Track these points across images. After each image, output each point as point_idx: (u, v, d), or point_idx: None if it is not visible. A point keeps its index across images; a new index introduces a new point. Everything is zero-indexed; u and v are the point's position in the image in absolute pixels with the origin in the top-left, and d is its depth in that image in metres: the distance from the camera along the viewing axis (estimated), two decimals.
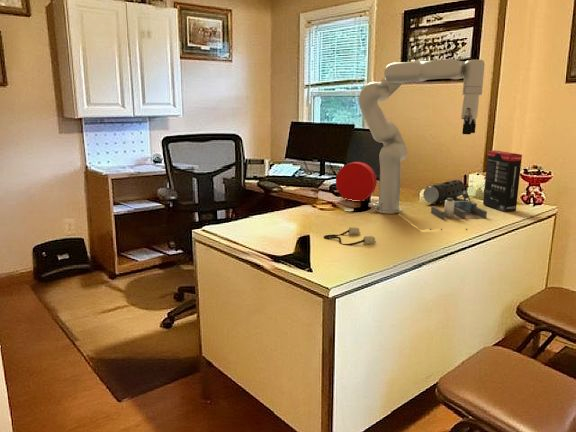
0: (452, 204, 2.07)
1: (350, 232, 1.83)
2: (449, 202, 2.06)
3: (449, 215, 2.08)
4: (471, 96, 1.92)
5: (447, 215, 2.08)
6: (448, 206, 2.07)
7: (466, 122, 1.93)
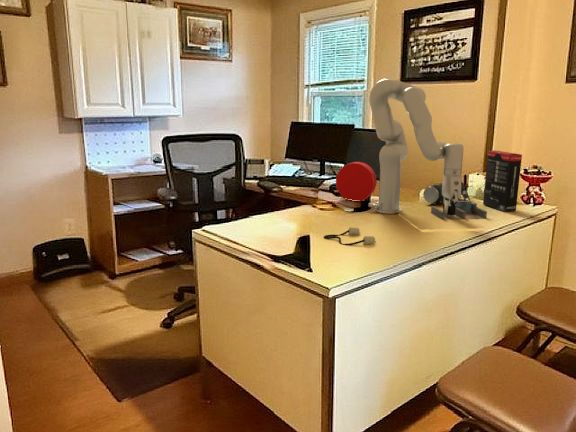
0: None
1: (350, 232, 1.83)
2: None
3: (449, 215, 2.08)
4: None
5: (447, 215, 2.08)
6: None
7: None
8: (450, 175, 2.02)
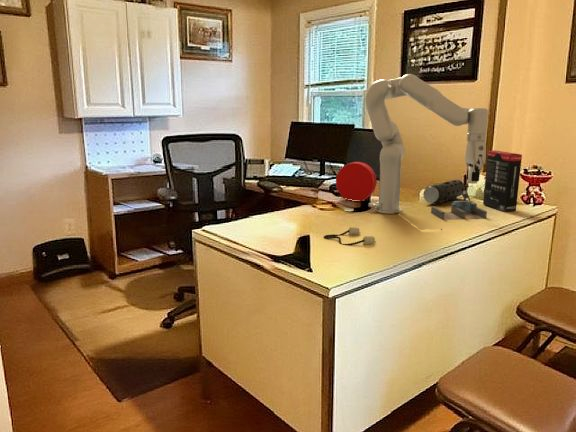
0: None
1: (350, 232, 1.83)
2: None
3: (473, 181, 2.05)
4: None
5: (471, 181, 2.05)
6: None
7: None
8: (474, 140, 2.00)
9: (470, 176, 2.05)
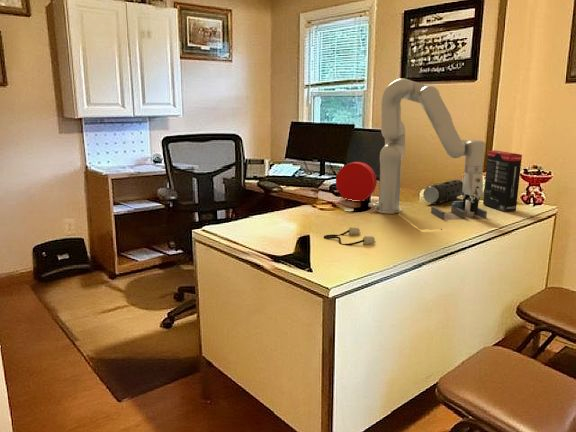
0: None
1: (350, 232, 1.83)
2: (470, 202, 2.07)
3: (470, 215, 2.08)
4: None
5: (468, 215, 2.09)
6: (469, 206, 2.08)
7: None
8: (472, 172, 2.03)
9: (467, 209, 2.09)
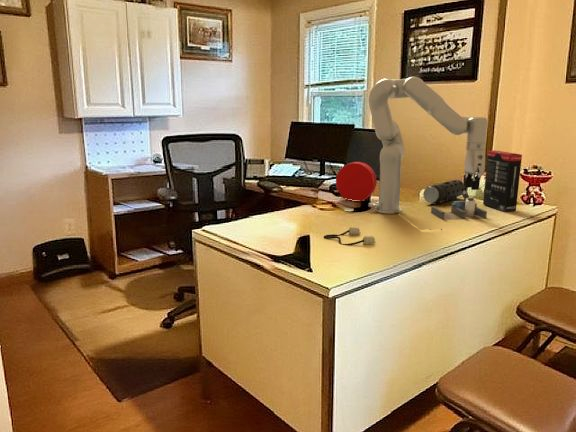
0: (473, 204, 2.07)
1: (350, 232, 1.83)
2: (470, 202, 2.07)
3: (470, 215, 2.08)
4: None
5: (468, 215, 2.09)
6: (469, 206, 2.08)
7: None
8: (474, 149, 2.00)
9: (467, 209, 2.09)
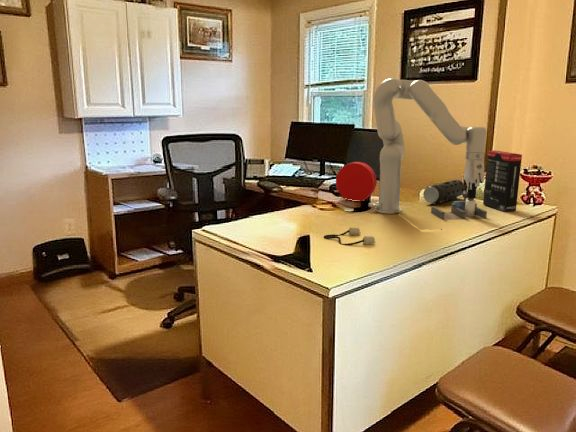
0: (473, 204, 2.07)
1: (350, 232, 1.83)
2: (470, 202, 2.07)
3: (470, 215, 2.08)
4: None
5: (468, 215, 2.09)
6: (469, 206, 2.08)
7: None
8: (473, 159, 2.01)
9: (467, 209, 2.09)
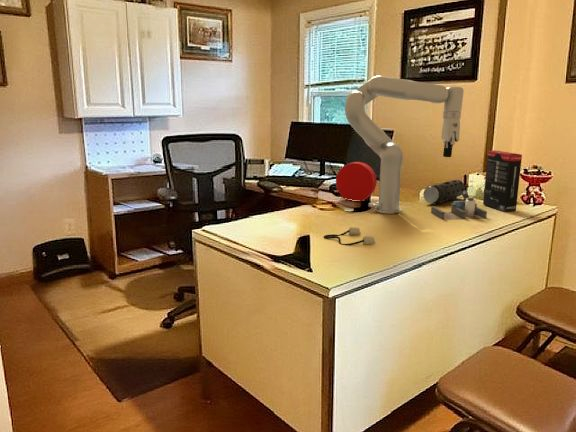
0: (473, 204, 2.07)
1: (350, 232, 1.83)
2: (470, 202, 2.07)
3: (470, 215, 2.08)
4: None
5: (468, 215, 2.09)
6: (469, 206, 2.08)
7: None
8: (449, 117, 2.09)
9: (467, 209, 2.09)
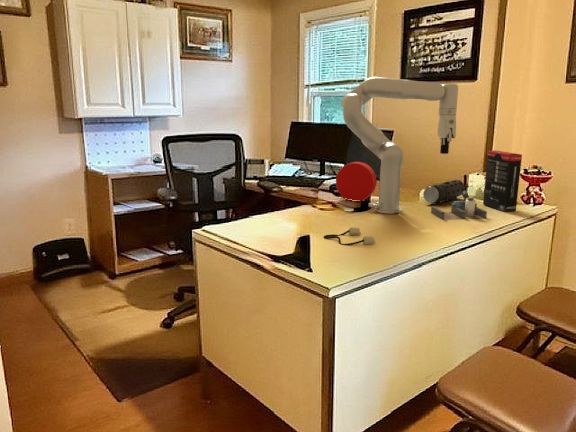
0: (473, 204, 2.07)
1: (350, 232, 1.83)
2: (470, 202, 2.07)
3: (470, 215, 2.08)
4: None
5: (468, 215, 2.09)
6: (469, 206, 2.08)
7: None
8: (445, 114, 2.10)
9: (467, 209, 2.08)
